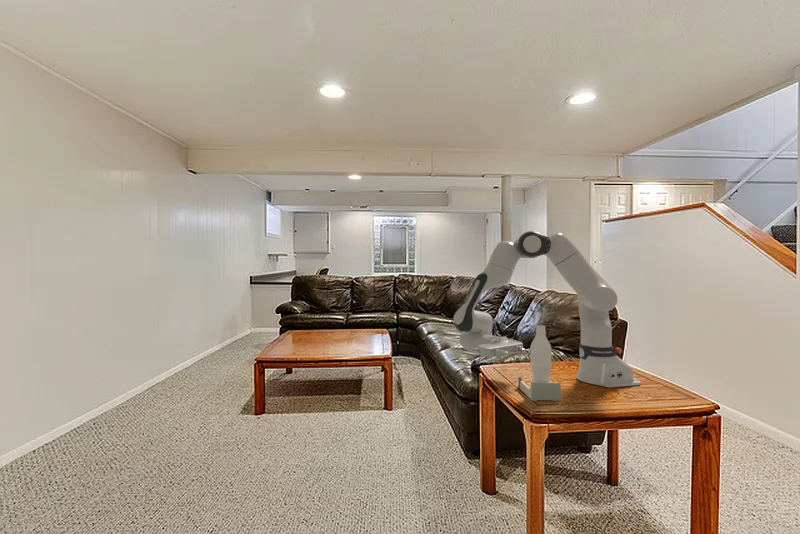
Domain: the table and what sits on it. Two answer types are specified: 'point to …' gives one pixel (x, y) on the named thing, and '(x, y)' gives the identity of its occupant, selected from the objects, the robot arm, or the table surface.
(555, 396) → the bay
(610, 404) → the table surface
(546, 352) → the water bottle
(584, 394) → the table surface
